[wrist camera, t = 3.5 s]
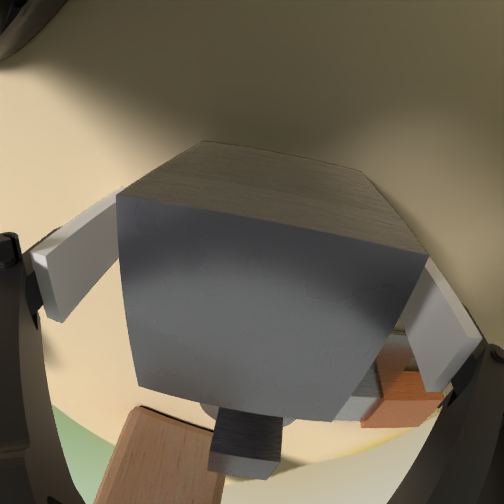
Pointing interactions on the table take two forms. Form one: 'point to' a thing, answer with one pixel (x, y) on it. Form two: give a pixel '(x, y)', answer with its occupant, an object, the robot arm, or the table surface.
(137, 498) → the wooden block
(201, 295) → the grey metal cube
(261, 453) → the lever
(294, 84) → the table surface
